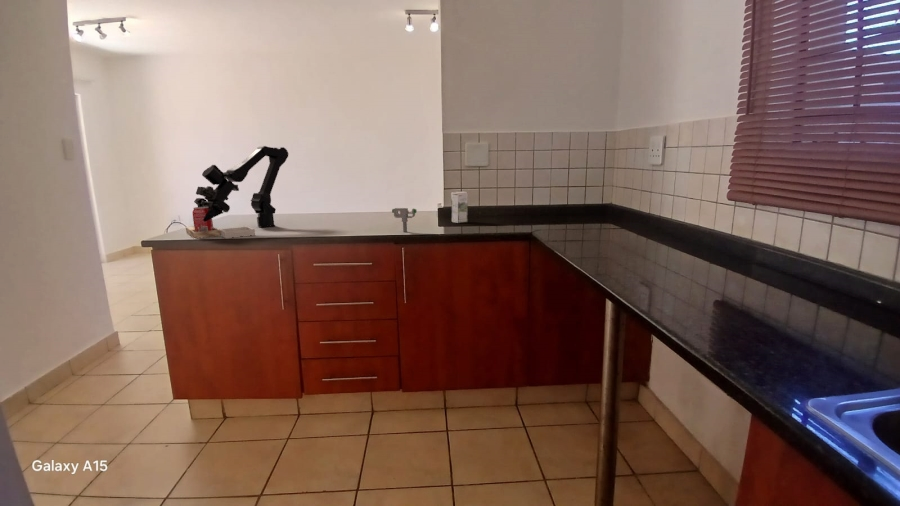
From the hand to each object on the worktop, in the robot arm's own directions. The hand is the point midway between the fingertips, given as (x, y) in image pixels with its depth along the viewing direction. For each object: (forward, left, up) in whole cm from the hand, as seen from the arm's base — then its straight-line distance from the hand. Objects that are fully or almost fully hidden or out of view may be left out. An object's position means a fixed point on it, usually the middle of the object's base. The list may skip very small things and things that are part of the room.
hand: (199, 220), depth 195 cm
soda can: (-1, -1, -7) cm, 7 cm away
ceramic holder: (-12, +7, -7) cm, 16 cm away
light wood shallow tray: (-1, -6, -7) cm, 9 cm away
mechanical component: (-69, +50, -7) cm, 86 cm away
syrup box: (-104, +43, -7) cm, 113 cm away
